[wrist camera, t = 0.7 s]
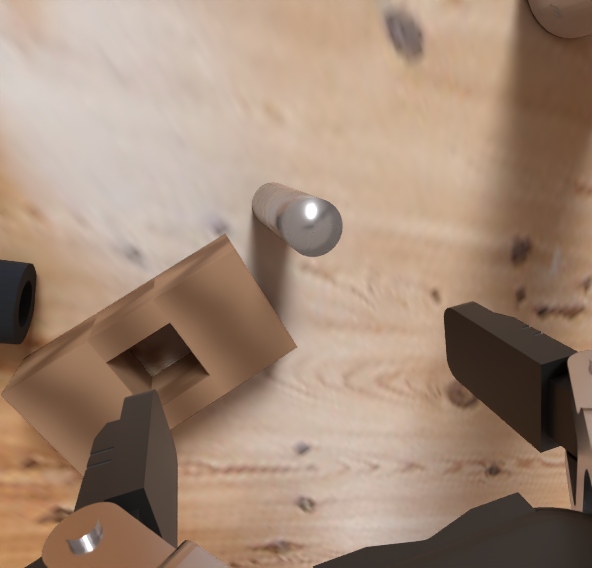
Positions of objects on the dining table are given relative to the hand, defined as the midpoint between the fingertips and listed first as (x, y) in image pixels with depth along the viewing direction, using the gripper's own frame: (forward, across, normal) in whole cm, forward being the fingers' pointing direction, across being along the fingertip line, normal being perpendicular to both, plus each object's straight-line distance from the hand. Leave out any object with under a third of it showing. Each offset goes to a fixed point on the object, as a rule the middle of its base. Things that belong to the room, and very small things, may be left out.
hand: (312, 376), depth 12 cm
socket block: (+22, +7, +7) cm, 24 cm away
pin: (+22, -3, -1) cm, 22 cm away
